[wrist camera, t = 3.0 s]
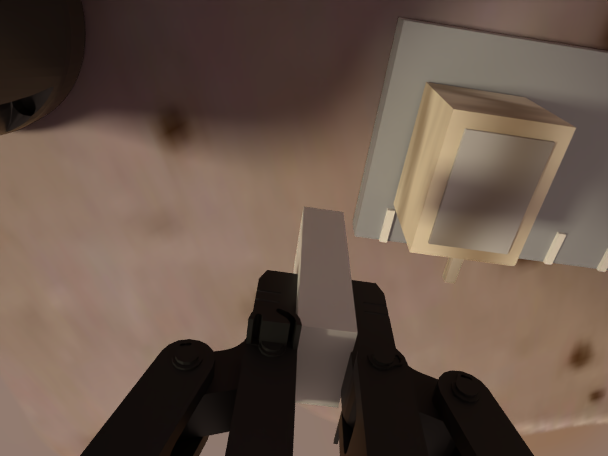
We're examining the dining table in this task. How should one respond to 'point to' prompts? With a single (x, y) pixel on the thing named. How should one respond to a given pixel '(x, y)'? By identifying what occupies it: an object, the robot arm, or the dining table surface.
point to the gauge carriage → (477, 174)
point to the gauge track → (512, 81)
